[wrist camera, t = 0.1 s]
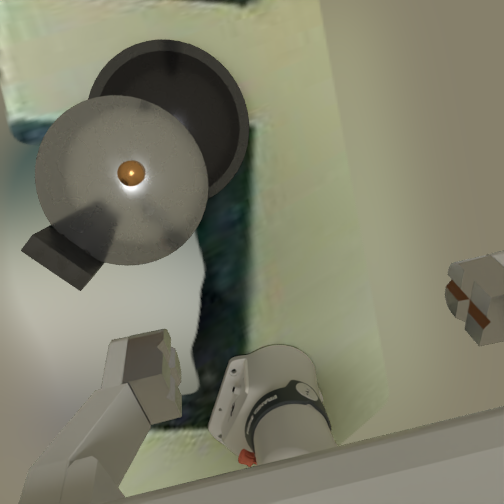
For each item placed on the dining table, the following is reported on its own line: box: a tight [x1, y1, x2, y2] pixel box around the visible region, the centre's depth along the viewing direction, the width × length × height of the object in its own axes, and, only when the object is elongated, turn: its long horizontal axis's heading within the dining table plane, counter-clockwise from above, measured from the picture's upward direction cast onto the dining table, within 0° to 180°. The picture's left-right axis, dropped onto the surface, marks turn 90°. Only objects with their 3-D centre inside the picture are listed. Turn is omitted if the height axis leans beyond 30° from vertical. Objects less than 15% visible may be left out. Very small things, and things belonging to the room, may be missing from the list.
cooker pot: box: [88, 40, 249, 199], centre depth 55 cm, size 20×20×9 cm
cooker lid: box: [21, 95, 208, 291], centre depth 49 cm, size 23×21×6 cm
